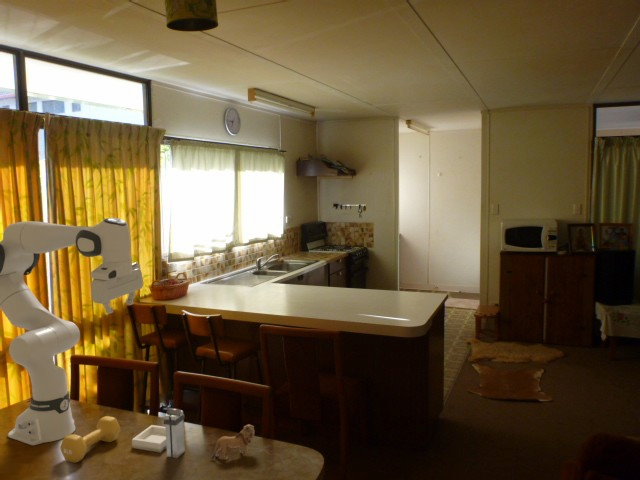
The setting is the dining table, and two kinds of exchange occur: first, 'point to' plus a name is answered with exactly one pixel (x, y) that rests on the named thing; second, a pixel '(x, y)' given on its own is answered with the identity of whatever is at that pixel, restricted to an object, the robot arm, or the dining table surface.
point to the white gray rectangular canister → (174, 432)
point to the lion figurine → (235, 441)
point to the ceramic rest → (151, 439)
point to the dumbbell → (89, 439)
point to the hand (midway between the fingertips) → (119, 308)
